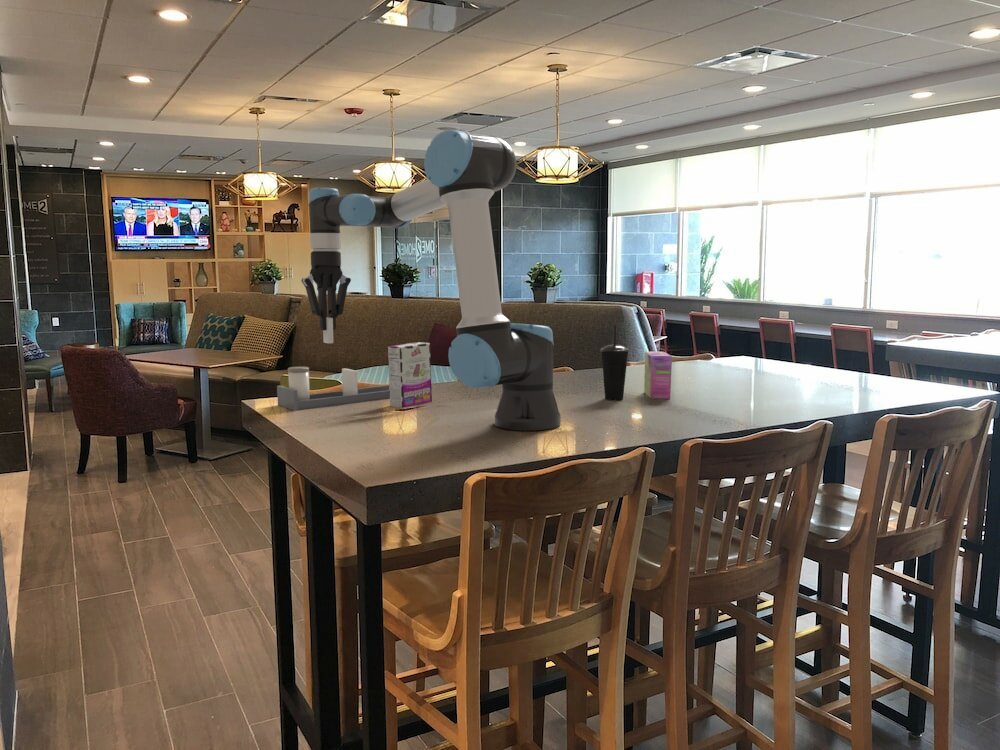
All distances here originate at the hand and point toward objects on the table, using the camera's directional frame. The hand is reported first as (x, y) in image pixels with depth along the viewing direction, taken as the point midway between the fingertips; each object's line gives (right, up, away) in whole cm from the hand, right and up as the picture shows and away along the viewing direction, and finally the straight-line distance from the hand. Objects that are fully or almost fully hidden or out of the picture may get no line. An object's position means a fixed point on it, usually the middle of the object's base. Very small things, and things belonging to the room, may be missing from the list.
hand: (328, 342), depth 205 cm
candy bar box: (+21, -17, 0) cm, 27 cm away
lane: (+3, -16, +4) cm, 17 cm away
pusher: (+6, -15, +6) cm, 17 cm away
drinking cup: (+75, -15, +10) cm, 78 cm away
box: (+88, -14, +15) cm, 90 cm away
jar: (-6, -16, -3) cm, 18 cm away
